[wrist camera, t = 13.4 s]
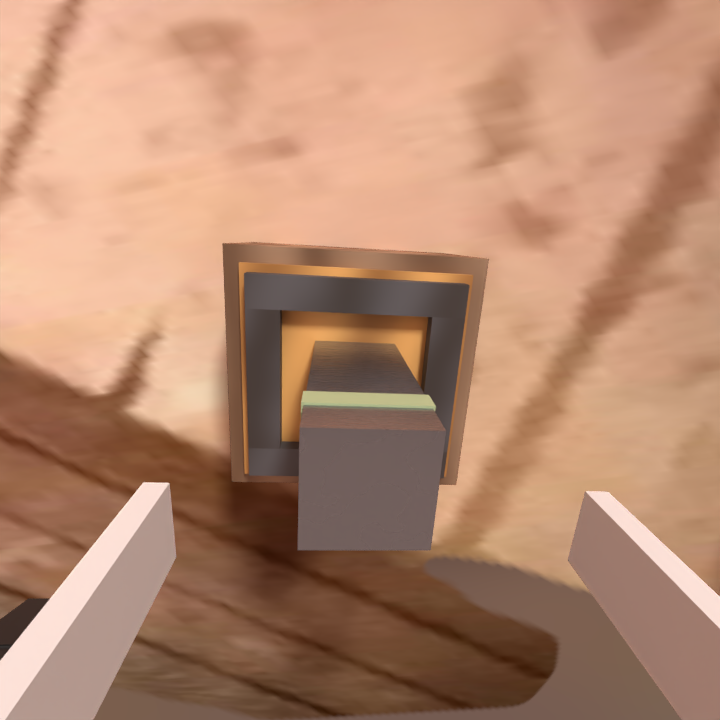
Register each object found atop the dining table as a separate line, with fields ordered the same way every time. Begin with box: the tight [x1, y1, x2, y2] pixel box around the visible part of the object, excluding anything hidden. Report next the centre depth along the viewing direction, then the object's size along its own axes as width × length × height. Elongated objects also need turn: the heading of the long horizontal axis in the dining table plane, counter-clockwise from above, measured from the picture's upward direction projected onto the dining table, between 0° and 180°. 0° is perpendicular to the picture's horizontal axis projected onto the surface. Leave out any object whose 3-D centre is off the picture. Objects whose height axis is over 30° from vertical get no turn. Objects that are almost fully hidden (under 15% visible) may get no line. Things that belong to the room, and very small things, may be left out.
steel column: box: [298, 341, 446, 550], centre depth 20 cm, size 5×5×12 cm
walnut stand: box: [223, 242, 489, 485], centre depth 30 cm, size 16×16×12 cm
